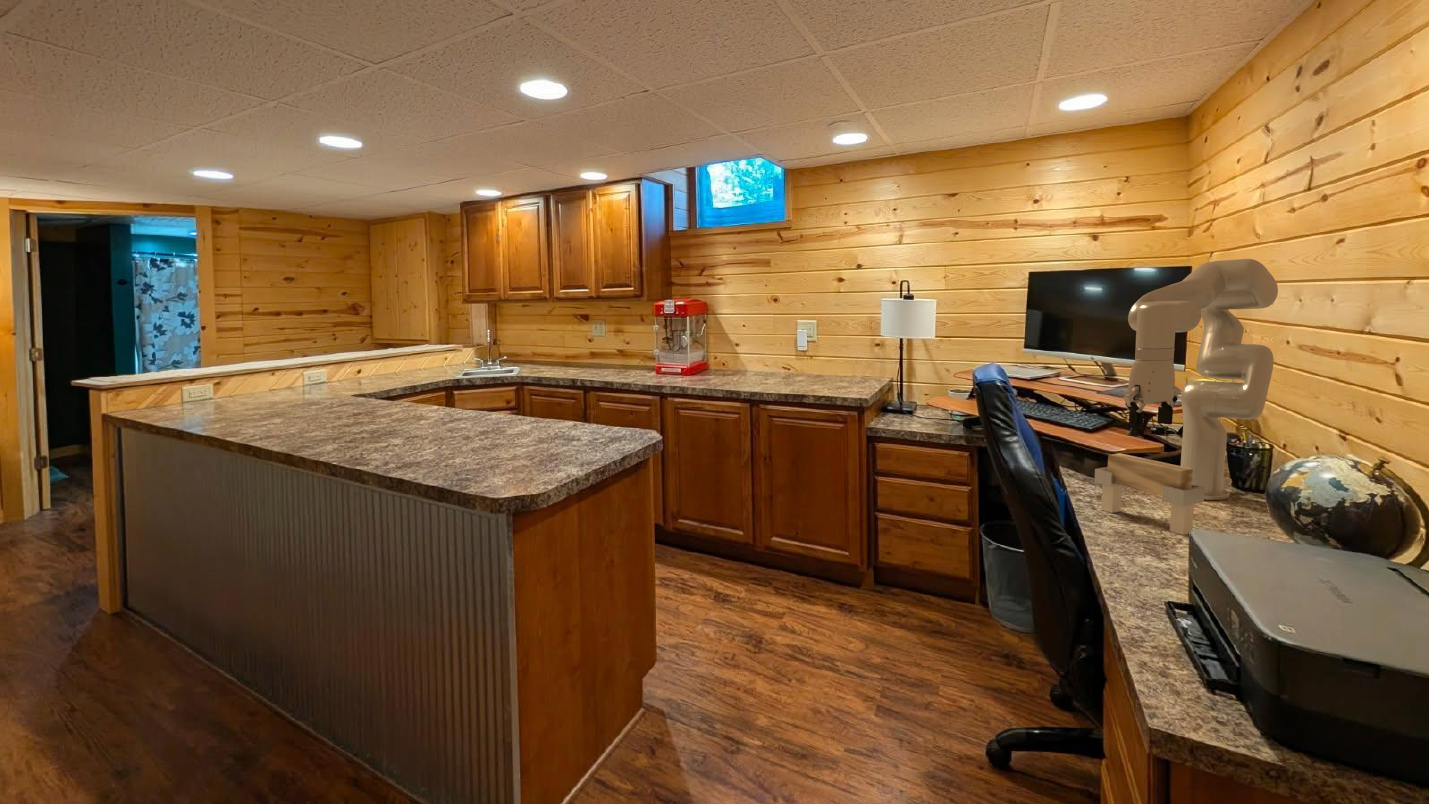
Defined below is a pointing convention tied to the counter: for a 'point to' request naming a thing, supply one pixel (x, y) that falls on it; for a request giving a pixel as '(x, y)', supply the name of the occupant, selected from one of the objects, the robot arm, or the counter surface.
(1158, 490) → the rail
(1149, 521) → the counter surface
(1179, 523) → the bracket stand
